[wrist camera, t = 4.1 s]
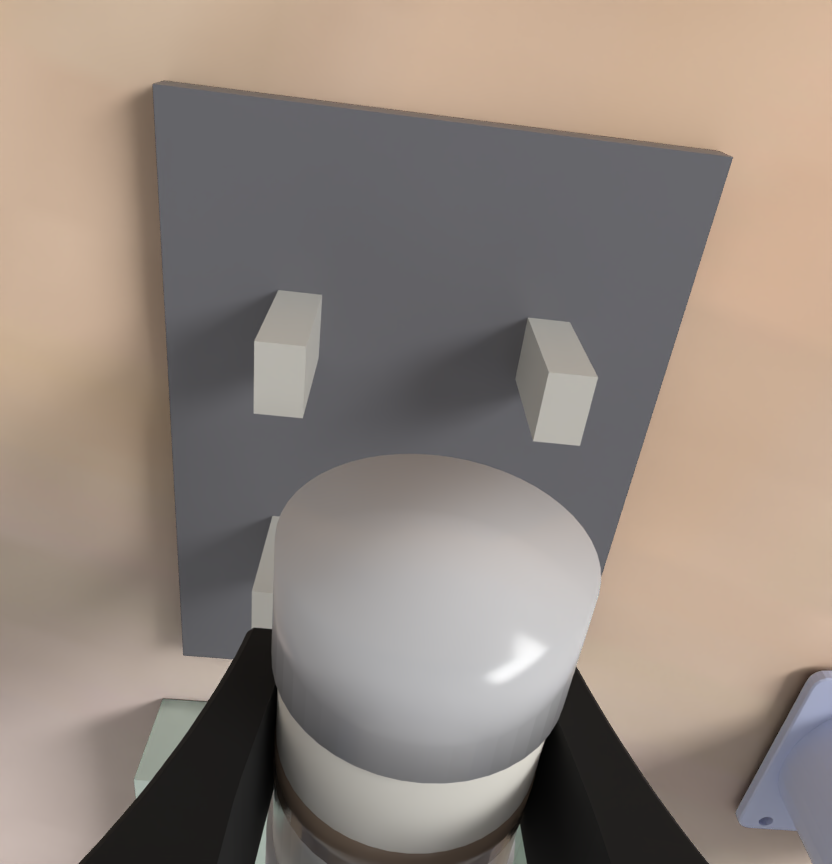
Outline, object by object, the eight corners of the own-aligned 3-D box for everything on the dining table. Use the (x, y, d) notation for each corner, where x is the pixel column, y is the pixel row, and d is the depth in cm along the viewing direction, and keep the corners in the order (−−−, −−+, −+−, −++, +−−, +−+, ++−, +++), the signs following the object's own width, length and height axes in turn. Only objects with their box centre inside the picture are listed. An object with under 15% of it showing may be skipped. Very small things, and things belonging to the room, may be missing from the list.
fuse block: (719, 150, 16) (798, 187, 13) (562, 665, 24) (586, 769, 21) (163, 80, 15) (97, 99, 12) (190, 636, 23) (153, 739, 20)
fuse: (567, 467, 12) (640, 678, 8) (484, 788, 15) (507, 1027, 12) (298, 441, 11) (244, 647, 8) (283, 774, 15) (242, 1015, 12)
